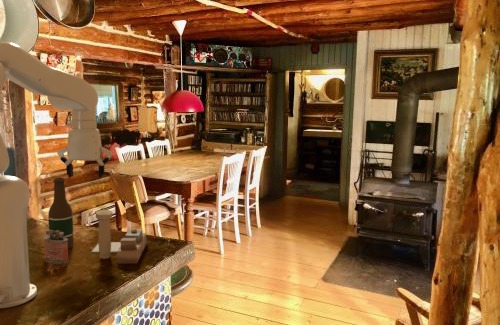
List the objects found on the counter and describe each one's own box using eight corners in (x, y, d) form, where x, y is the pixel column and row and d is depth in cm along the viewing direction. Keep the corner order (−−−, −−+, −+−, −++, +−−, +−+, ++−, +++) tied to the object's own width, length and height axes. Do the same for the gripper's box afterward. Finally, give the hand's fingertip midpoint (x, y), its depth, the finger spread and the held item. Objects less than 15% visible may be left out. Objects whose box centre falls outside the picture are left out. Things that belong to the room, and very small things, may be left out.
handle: (110, 253, 139) (109, 209, 137) (115, 259, 134) (114, 213, 131) (95, 255, 136) (93, 211, 134) (99, 262, 131) (98, 215, 129)
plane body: (137, 263, 131) (136, 240, 130) (117, 263, 130) (116, 240, 129) (146, 243, 149) (146, 223, 148) (129, 243, 148) (128, 223, 147)
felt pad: (119, 252, 140) (119, 251, 140) (91, 252, 139) (91, 251, 139) (125, 243, 149) (125, 242, 148) (99, 243, 148) (99, 242, 148)
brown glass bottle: (78, 243, 147) (76, 176, 143) (66, 251, 139) (63, 180, 136) (57, 242, 148) (54, 175, 144) (44, 250, 140) (41, 179, 136)
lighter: (71, 261, 131) (70, 230, 130) (63, 265, 128) (62, 233, 127) (49, 257, 133) (48, 227, 132) (42, 261, 130) (40, 230, 129)
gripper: (52, 125, 132) (54, 178, 134) (109, 126, 134) (110, 179, 136) (60, 124, 139) (62, 174, 142) (114, 125, 141) (115, 175, 144)
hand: (85, 176), depth 139 cm, fingers open, 9 cm apart
